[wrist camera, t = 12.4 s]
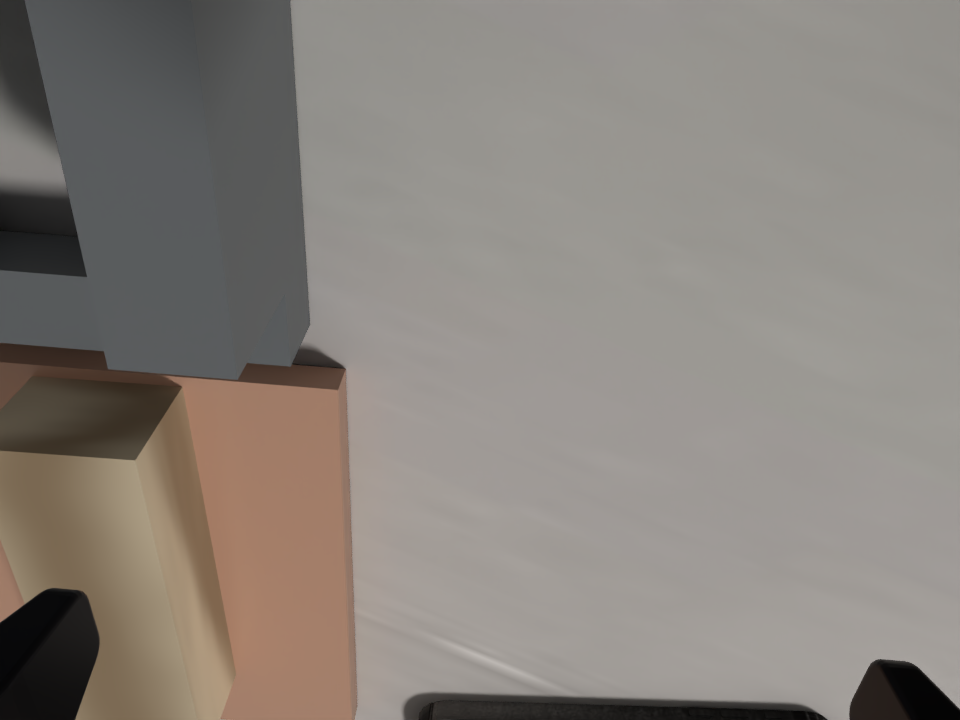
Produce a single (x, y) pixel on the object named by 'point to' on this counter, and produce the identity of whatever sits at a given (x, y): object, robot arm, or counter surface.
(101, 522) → the maple bar
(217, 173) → the grey hollow block
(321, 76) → the counter surface
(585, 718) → the phone
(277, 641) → the terracotta tile
